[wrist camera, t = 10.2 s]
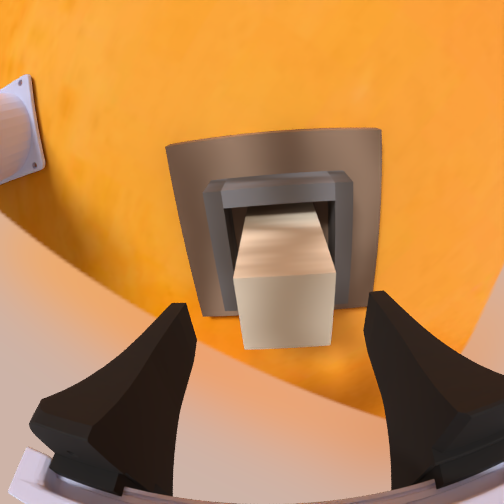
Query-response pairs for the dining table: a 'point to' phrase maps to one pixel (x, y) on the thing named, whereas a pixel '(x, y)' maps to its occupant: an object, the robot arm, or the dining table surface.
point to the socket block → (279, 202)
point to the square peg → (284, 278)
